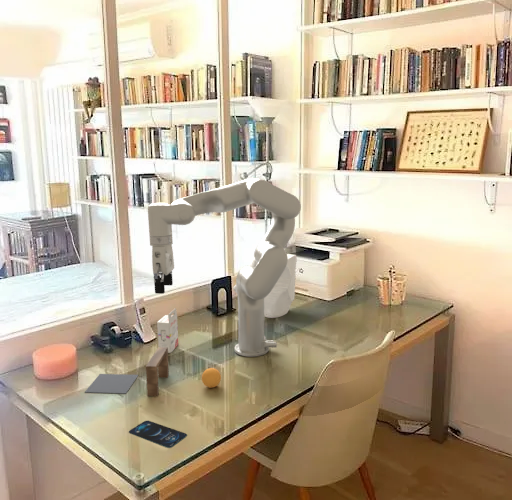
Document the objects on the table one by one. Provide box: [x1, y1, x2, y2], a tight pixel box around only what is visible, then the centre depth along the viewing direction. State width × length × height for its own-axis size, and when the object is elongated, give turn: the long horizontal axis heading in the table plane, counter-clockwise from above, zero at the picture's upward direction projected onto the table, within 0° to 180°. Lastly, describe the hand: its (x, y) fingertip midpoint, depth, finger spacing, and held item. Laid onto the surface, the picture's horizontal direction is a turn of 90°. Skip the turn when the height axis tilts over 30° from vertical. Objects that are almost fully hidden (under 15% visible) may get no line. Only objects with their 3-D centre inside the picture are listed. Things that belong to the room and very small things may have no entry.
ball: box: [201, 367, 222, 389], centre depth 169 cm, size 6×6×6 cm
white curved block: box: [232, 253, 297, 319], centre depth 242 cm, size 21×27×26 cm
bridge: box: [145, 346, 170, 397], centre depth 170 cm, size 3×15×10 cm, turn 176°
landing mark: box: [84, 373, 139, 395], centre depth 172 cm, size 13×13×1 cm
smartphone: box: [128, 420, 188, 449], centre depth 144 cm, size 8×1×15 cm
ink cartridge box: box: [156, 307, 179, 354], centre depth 199 cm, size 9×5×15 cm, turn 168°
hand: (164, 289), depth 185 cm, fingers open, 9 cm apart
